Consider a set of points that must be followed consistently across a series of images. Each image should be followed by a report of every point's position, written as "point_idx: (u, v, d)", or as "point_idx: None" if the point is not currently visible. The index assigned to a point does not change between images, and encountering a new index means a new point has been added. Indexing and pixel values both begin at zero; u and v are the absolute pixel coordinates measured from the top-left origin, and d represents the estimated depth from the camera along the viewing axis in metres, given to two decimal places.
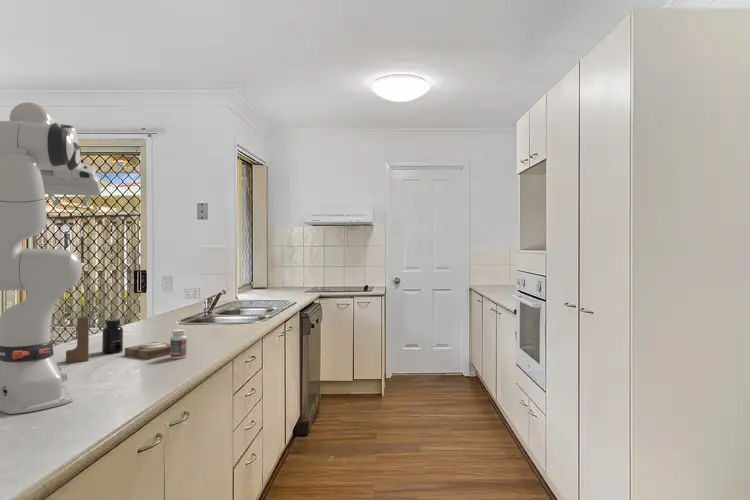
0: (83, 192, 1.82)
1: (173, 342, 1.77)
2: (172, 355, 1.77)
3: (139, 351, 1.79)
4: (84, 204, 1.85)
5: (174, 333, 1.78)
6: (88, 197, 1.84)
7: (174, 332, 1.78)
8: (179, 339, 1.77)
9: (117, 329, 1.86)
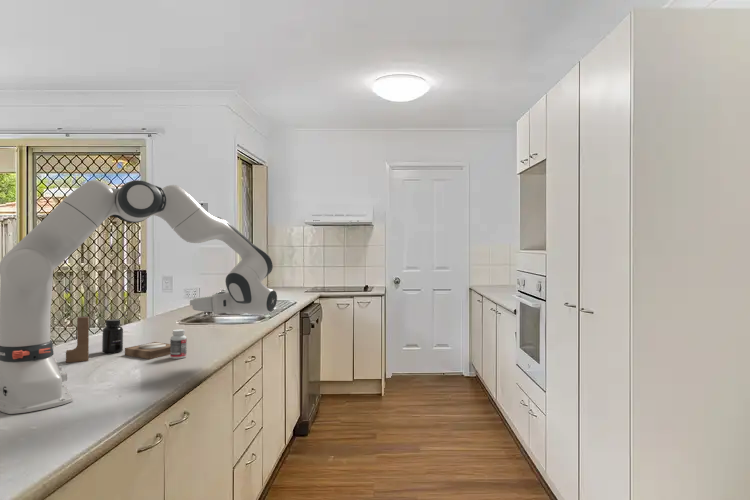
0: None
1: (173, 342, 1.77)
2: (172, 355, 1.77)
3: (139, 351, 1.79)
4: None
5: (174, 333, 1.78)
6: None
7: (174, 332, 1.78)
8: (179, 339, 1.77)
9: (117, 329, 1.86)
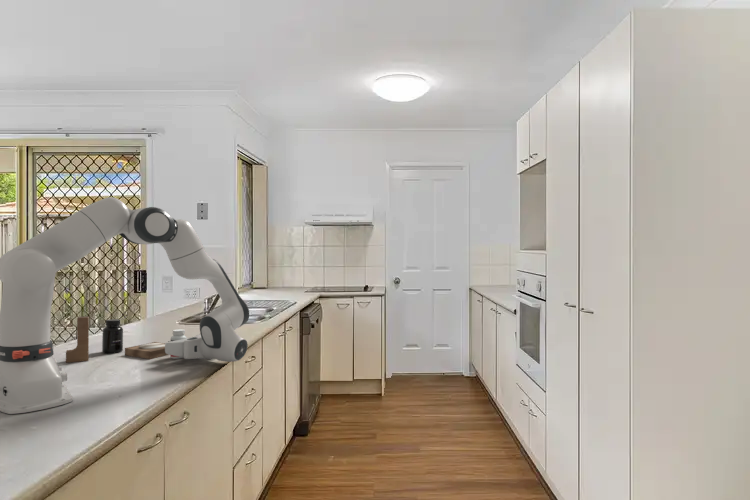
0: (178, 340, 1.73)
1: None
2: (172, 355, 1.77)
3: (139, 351, 1.79)
4: (171, 341, 1.77)
5: (174, 333, 1.78)
6: None
7: (174, 332, 1.78)
8: (179, 339, 1.77)
9: (117, 329, 1.86)
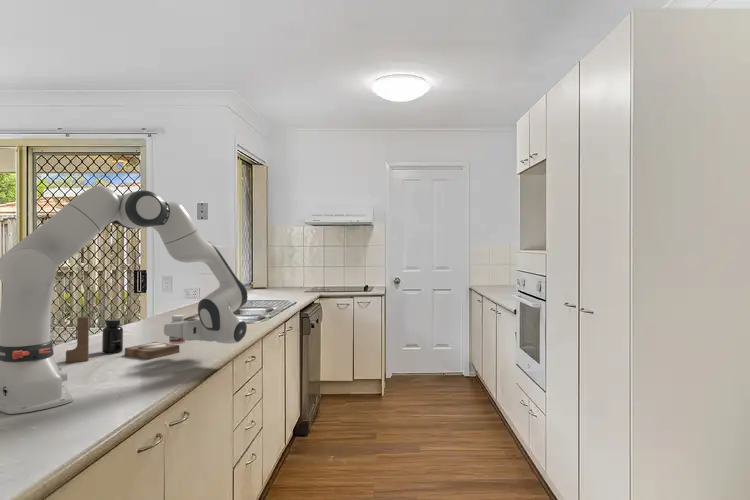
0: (177, 322, 1.73)
1: None
2: (171, 340, 1.77)
3: (139, 351, 1.79)
4: None
5: (173, 318, 1.78)
6: None
7: (173, 317, 1.78)
8: None
9: (117, 329, 1.86)
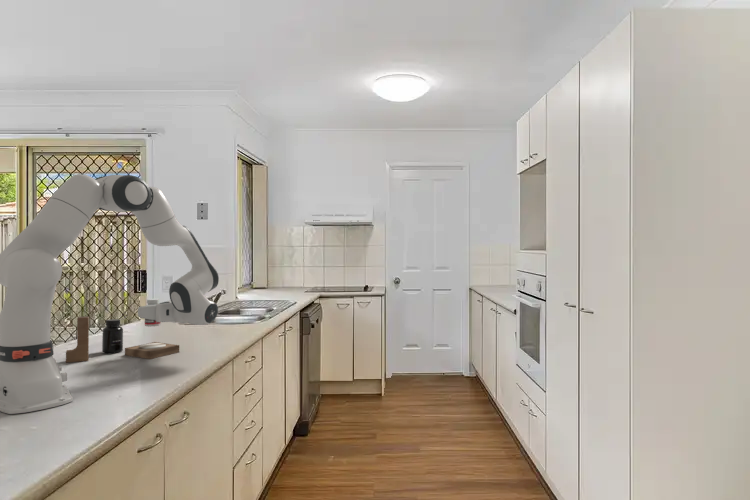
0: None
1: None
2: (146, 323, 1.83)
3: (139, 351, 1.79)
4: None
5: (148, 302, 1.83)
6: None
7: (148, 301, 1.83)
8: None
9: (117, 329, 1.86)
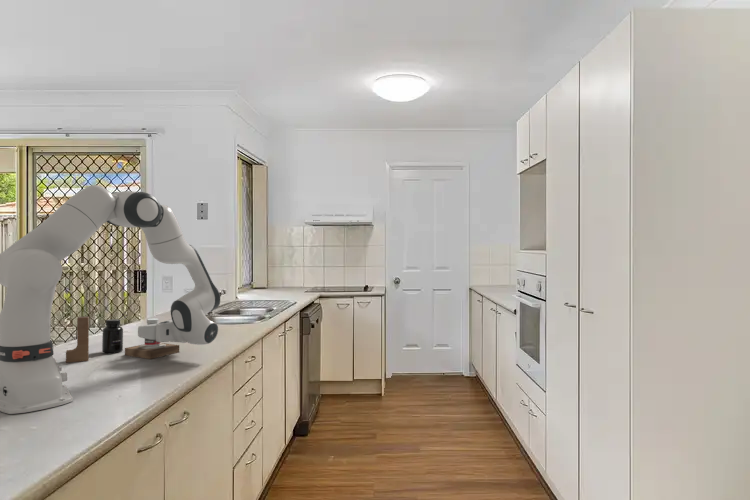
0: (151, 324, 1.79)
1: None
2: (146, 343, 1.83)
3: (139, 351, 1.79)
4: None
5: (148, 322, 1.83)
6: None
7: (148, 321, 1.83)
8: None
9: (117, 329, 1.86)
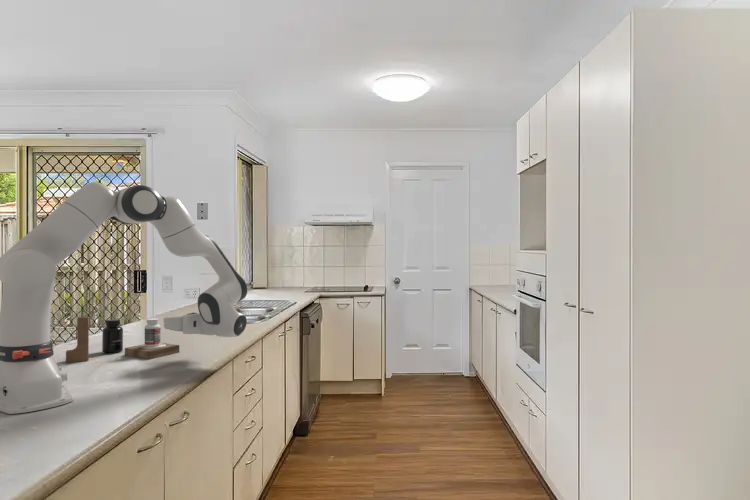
0: (177, 316, 1.73)
1: (147, 331, 1.83)
2: (146, 343, 1.83)
3: (139, 351, 1.79)
4: None
5: (148, 322, 1.83)
6: None
7: (148, 321, 1.83)
8: (153, 328, 1.83)
9: (117, 329, 1.86)
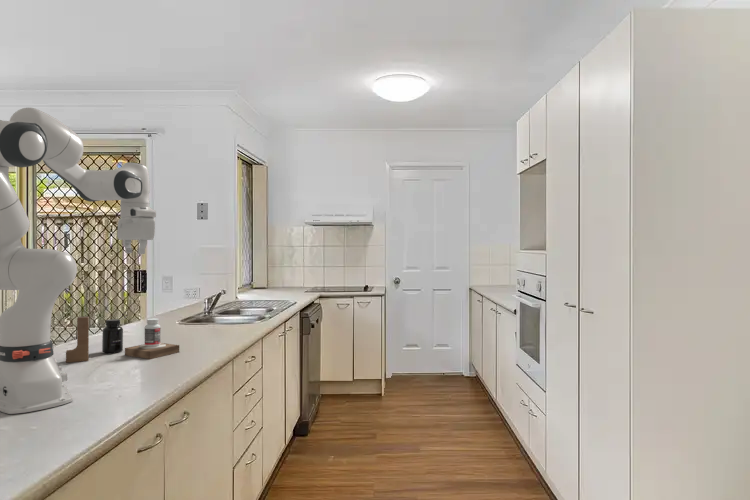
0: (136, 235, 1.64)
1: (147, 331, 1.83)
2: (146, 343, 1.83)
3: (139, 351, 1.79)
4: (138, 251, 1.65)
5: (148, 322, 1.83)
6: (140, 242, 1.64)
7: (148, 321, 1.83)
8: (153, 327, 1.83)
9: (117, 329, 1.86)
